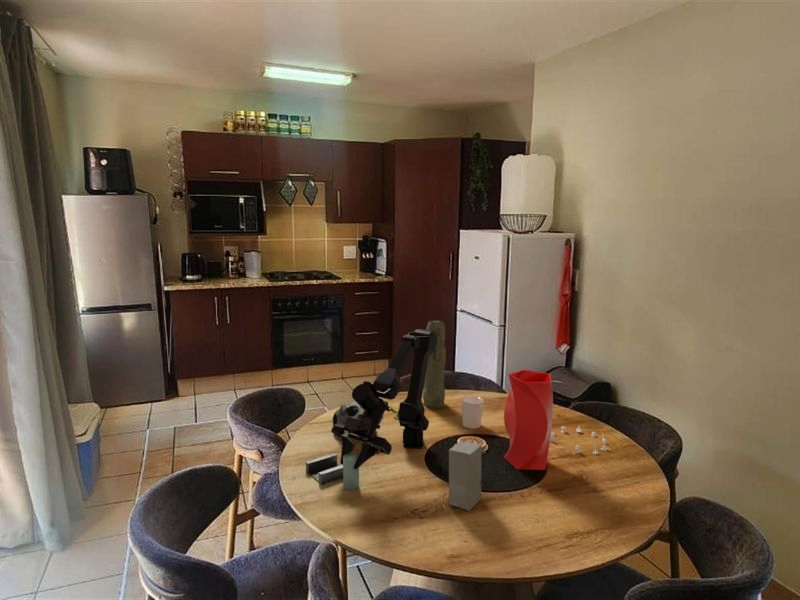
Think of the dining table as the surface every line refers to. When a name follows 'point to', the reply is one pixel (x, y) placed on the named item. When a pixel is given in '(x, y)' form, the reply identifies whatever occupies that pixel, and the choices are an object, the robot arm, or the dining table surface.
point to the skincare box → (465, 474)
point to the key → (395, 411)
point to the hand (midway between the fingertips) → (347, 466)
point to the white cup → (472, 411)
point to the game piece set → (578, 445)
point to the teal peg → (350, 472)
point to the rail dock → (325, 469)
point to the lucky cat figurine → (347, 413)
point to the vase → (529, 419)
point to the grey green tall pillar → (435, 368)
